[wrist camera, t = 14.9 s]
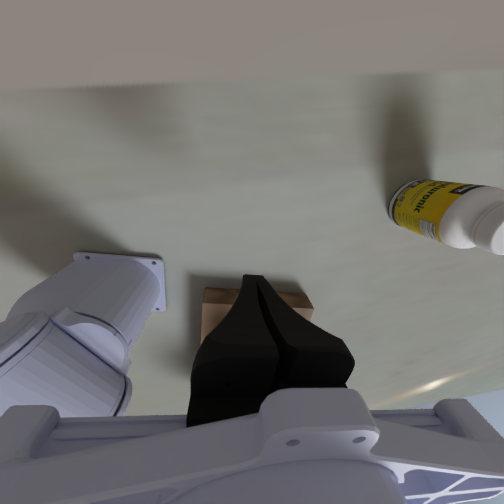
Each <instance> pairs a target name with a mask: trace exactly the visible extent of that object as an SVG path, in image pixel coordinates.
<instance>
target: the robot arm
mask: <svg viewBox="0 0 504 504" xmlns="http://www.w3.org/2000/svg"><path fill="white" fill-rule="evenodd" d="M87 256H89V257H90V258H88V257H87ZM73 260H74V262H72V263H71V264H69V265H68V266H66V267H64V268H63V269H61V270H60V271H58V272H57V273H55V274H54V275H52V276H50V277H49V278H47V279H46V280H44V281H43V282H41V283H40V284H38V285H36V286H35V287H33V288H32V289H30V290H29V291H27V292H26V293H25V294H23V295H22V296H21V297H20V298H19V299H18V300H17V302H16V303H15V304H14V306H13V307H12V308H11V310H10V312H9V314H8V316H7V318H6V320H5V321H3V322H1V323H0V504H454V503H460V502H466V501H473V500H482V499H489V498H493V497H495V496H497V495H499V494H501V493H503V492H504V438H503V437H502V436H501V435H500V434H499V433H498V432H497V431H496V430H495V429H494V428H493V427H492V426H491V425H490V424H489V423H488V422H487V421H486V420H485V419H484V418H483V416H482V415H481V414H480V413H479V412H478V411H477V410H476V409H475V408H474V407H473V406H472V405H471V404H470V403H469V402H468V401H467V400H466V399H443V400H441V401H439V402H438V403H437V404H436V405H435V406H434V408H433V409H406V410H369V409H368V407H367V405H366V403H365V402H364V400H363V398H362V396H361V395H360V394H359V393H358V392H357V391H356V390H353V389H348V388H347V386H346V384H345V383H346V381H347V380H348V378H349V376H350V375H351V373H352V371H353V368H354V366H355V360H354V358H353V356H352V355H351V353H350V351H349V349H348V348H347V346H346V345H345V343H344V342H343V340H342V339H340V338H338V337H336V336H334V335H332V334H330V333H328V332H326V331H324V330H322V329H321V328H319V327H317V326H316V325H314V324H313V323H311V322H310V321H308V320H307V319H305V318H304V317H303V316H301V315H300V314H299V313H297V312H296V311H295V310H294V309H293V308H291V307H290V306H289V305H288V304H287V303H286V302H285V301H284V300H283V299H282V298H281V297H280V296H279V295H278V294H277V293H276V291H275V290H274V289H273V288H272V287H271V285H270V284H269V283H268V282H267V280H266V279H265V278H264V276H261V275H248V274H245V275H243V281H242V287H241V290H240V293H239V295H238V297H237V299H236V301H235V303H234V304H233V306H232V307H231V309H230V310H229V312H228V313H227V315H226V316H225V317H224V318H223V319H222V321H221V322H220V323H219V324H218V325H217V326H216V327H215V328H214V329H213V330H212V331H211V332H210V333H209V334H208V335H206V337H205V338H204V340H203V342H202V344H201V346H200V348H199V350H198V352H197V354H196V357H195V360H194V363H193V368H192V373H191V396H190V402H189V407H188V413H187V415H151V416H124V415H125V413H126V410H127V408H128V405H129V402H130V399H131V395H132V382H131V380H130V379H129V378H128V377H127V376H126V374H127V372H128V370H129V368H130V366H131V364H132V362H131V360H130V359H129V358H128V354H129V352H130V350H131V348H132V346H133V344H134V342H135V341H136V339H137V337H138V335H139V333H140V331H141V329H142V328H143V326H144V324H145V322H146V320H147V318H148V316H149V315H150V313H151V311H152V312H164V311H165V310H166V293H165V276H164V262H163V260H162V259H160V258H149V257H137V256H125V255H113V254H100V253H88V252H76V253H74V254H73ZM153 261H155V262H156V263H153ZM158 308H159V309H158Z"/></svg>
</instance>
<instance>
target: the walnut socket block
mask: <svg viewBox="0 0 504 504" xmlns="http://www.w3.org/2000/svg"><path fill="white" fill-rule="evenodd" d="M239 293H240V290H234V289H218V288H205V293H204V297H203V302H202V321H201V344H202V342H203V340H204V338H205V337H206V335H208V334H209V333H210V332H211V331H212V330H213V329H214V328H215V327H216V326H217V325H218V324H219V323H220V322H221V321H222V319H223V318H224V317H225V316H226V315H227V313H228V312H229V310H230V309H231V307H232V306H233V304H234V303H235V301H236V299H237V297H238V295H239ZM276 293H277V294H278V295H279V296H280V297H281V298H282V299H283V300H284V301H285V302H286V303H287V304H288V305H289V306H290V307H291V308H293V309H294V310H295V311H296V312H297V313H299V314H300V315H301V316H303V317H304V318H305V319H307V320H308V321H310V319H311V316H312V313H313V310H314V308H313V306H312V304H311V302H310V300H309V299H308V297H307V295H306V294H298V293H282V292H276ZM200 346H201V345H200Z"/></svg>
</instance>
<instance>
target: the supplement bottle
mask: <svg viewBox="0 0 504 504" xmlns="http://www.w3.org/2000/svg"><path fill="white" fill-rule="evenodd" d="M389 215H390V218H391V220H392V221H393V222H394V223H395V224H397V225H399V226H401V227H404V228H406V229H408V230H411V231H414V232H416V233H419V234H421V235H424V236H426V237H429V238H431V239H434V240H436V241H439V242H441V243H443V244H446V245H449V246H451V247H455V248H462V249H465V248H472V247H478V248H481V249H483V250H486V251H489V252H492V253H495V254H499V255H504V190H503V189H500V188H497V187H491V186H483V185H473V184H463V183H453V182H445V181H435V180H415V181H412V182H409V183H407V184H406V185H404V186H403V187H402V188H400V189H399V190H398V191H397V192H396V194H395V195H394V197H393V198H392V200H391V202H390V206H389Z"/></svg>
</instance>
